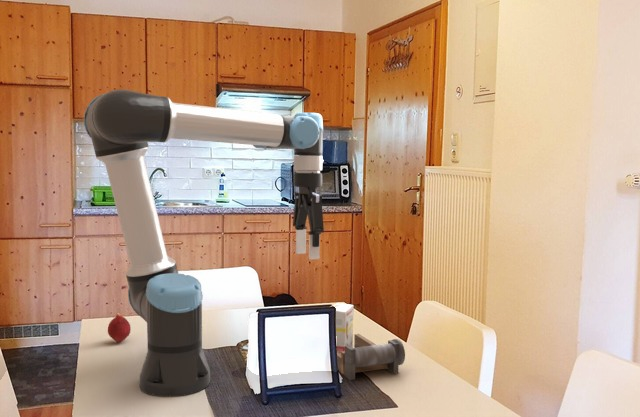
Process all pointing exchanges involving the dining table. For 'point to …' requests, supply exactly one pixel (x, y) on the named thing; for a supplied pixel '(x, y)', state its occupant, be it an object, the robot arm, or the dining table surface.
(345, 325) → the ink box
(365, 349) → the grey roller holder
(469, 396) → the dining table surface
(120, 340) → the onion
